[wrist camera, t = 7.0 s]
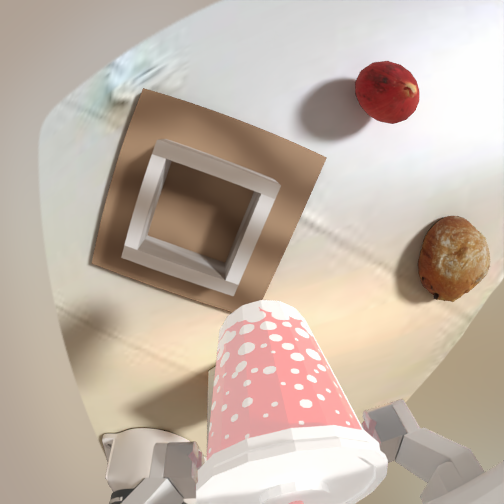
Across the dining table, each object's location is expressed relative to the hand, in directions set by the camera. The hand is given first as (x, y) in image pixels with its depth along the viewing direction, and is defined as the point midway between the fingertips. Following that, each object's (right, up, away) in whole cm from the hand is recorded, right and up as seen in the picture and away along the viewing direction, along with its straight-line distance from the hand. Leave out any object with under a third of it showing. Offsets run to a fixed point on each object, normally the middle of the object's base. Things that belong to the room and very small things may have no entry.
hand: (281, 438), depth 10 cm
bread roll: (+23, +6, +25) cm, 35 cm away
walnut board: (-6, +11, +20) cm, 24 cm away
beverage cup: (-1, +2, +6) cm, 7 cm away
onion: (+11, +22, +18) cm, 30 cm away
